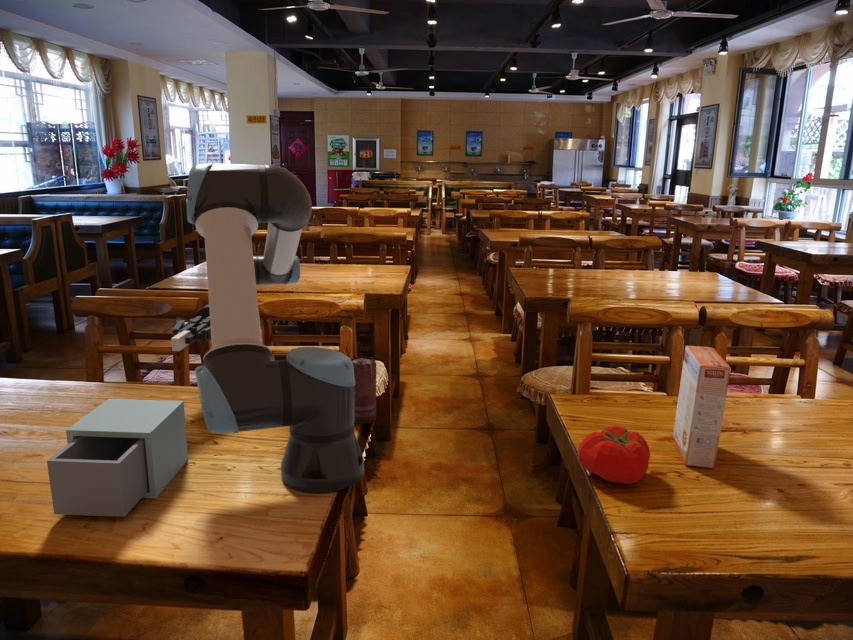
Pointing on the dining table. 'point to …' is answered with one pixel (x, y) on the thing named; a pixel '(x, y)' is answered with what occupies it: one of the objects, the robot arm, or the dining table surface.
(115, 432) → the sleeve
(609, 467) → the tomato
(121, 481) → the tray
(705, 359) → the cracker box
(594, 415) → the dining table surface
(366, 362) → the can
